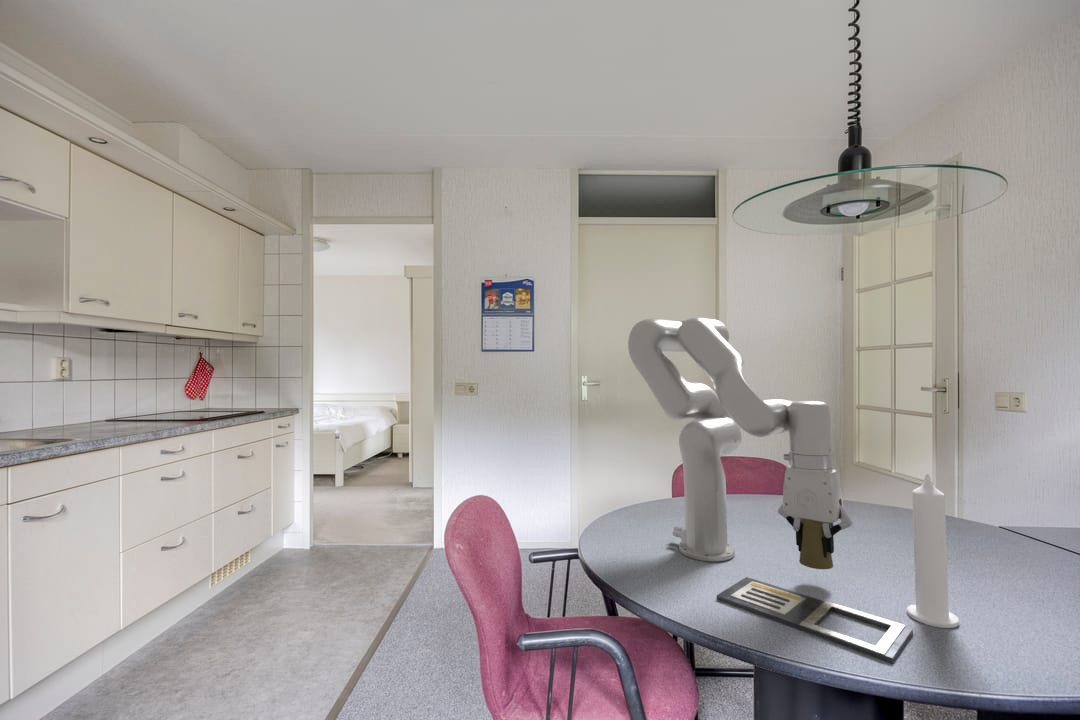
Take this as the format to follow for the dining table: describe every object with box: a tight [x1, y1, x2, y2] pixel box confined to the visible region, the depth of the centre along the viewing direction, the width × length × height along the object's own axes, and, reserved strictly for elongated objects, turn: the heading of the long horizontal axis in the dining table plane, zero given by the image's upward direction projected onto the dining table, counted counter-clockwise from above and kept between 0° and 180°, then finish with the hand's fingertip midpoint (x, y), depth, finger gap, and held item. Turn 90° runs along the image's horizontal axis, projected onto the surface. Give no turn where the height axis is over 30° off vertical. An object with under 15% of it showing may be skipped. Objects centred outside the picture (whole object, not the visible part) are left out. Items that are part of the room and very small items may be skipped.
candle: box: [906, 473, 960, 629], centre depth 86 cm, size 7×7×25 cm
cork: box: [799, 519, 834, 570], centre depth 100 cm, size 6×6×11 cm
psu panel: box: [716, 576, 914, 664], centre depth 87 cm, size 28×12×1 cm, turn 41°
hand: (815, 551), depth 100 cm, fingers closed on cork, 3 cm apart
